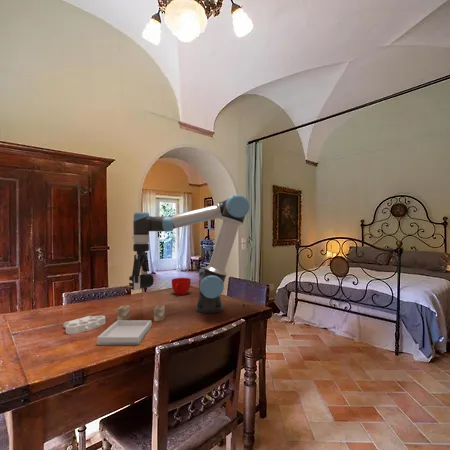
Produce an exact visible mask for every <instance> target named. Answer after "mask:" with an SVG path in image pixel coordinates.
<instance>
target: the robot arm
mask: <svg viewBox="0 0 450 450" xmlns="http://www.w3.org/2000/svg"><path fill="white" fill-rule="evenodd" d="M249 210H250V201H248V198H247V197H245V196H244V195H242V194H232V195H230V196H229V197H228V198H226V200H225V199H224V200H223V201H220V202H219V201H218V202H216V204H215V205H211V206H206V207H201V208H198V209H193V210H188V211H185V212H180V213H177V214H171V215H168V216H167V215H165V216H150V214H149V212H147V211H145V212H144V211H140V212H138V211H137V212H134V213H133V221H132V222H133V225H132V227H133V235H132V240H133V248H132V249H133V252H136V254H134V255H133V266H132V272H131V273H132V274H131V276H134V290H133V291H136V290H137V291H140V290H141V289H140V276H139V275H143V274H145V275H146V274H149V273H148V272H150V265H149V255H148V252H149V251H150V243H149V242H150V232H173V231H174V229H179V228H183V227H187V226H191V225H197V224H199V223H205V222H208V221H212V220H217V219H220V220H222V223H221V226H220V230H219V234H218V235H217V238H216V242H215V245H214V248H213V251H212V254H211V257H210V261H209V264H208V265H207V266H205V267H203V268H200V269H198V270H199V272H198V298H197V301H196V304H195V311H196V312H198V313H203V314H215V313H220V312H222V311H223V310H224V304H223V301H222V298H221V294H223V292H224V289H225V288H224V287H225V286H224V285H225V280H226V277H227V272H226V267H227V264H228V261H229V258H230V255H231V252H232V250H233V249H232V248H233V246H234V243H235V239H236V236H237V234H238V230H239V227H240V226H241V225H243V224H244V221H245V218H246V215H247V214H248V212H249ZM141 268H142V272H141Z"/></svg>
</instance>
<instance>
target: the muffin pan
mask: <svg viewBox="0 0 450 450" xmlns="http://www.w3.org/2000/svg"><path fill="white" fill-rule="evenodd" d="M102 325H106V316H105V315H94V316H93V315H86V316H84V317H80V318H76V319H72V320H69V321H65V322H64V323H63V328H65V334H66V335H75V334H78V333H85V332H87V331H90V330H95V329H97V328H99V327H100V326H102Z"/></svg>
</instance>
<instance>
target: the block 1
mask: <svg viewBox="0 0 450 450" xmlns="http://www.w3.org/2000/svg"><path fill="white" fill-rule="evenodd" d="M130 307H131V306H130V305H121V306H119V307H118V308H117V309H116V310H117V311H116V315H117V317H116V318H117V320H129V319H130V316H131V309H130ZM117 320H116V321H117Z"/></svg>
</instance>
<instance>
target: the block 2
mask: <svg viewBox="0 0 450 450" xmlns="http://www.w3.org/2000/svg"><path fill="white" fill-rule="evenodd" d="M165 311H166V306H165V305H156V306H155V307H154V309H153V321H154V322H163V320H165V317H166V314H165V313H166V312H165Z"/></svg>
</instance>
